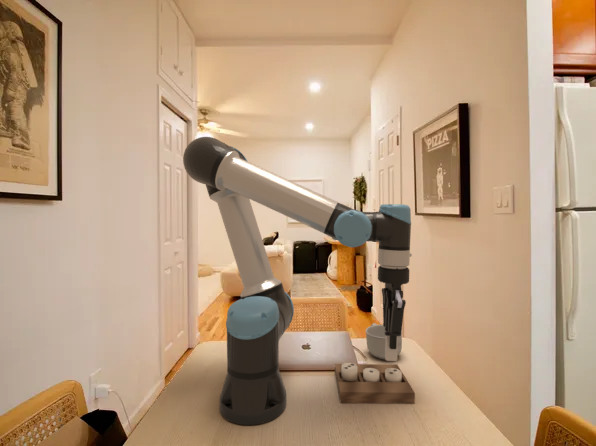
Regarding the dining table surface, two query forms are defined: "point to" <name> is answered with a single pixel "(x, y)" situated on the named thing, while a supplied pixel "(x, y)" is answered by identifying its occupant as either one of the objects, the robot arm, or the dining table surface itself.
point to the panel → (373, 387)
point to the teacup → (379, 341)
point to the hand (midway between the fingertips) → (390, 359)
